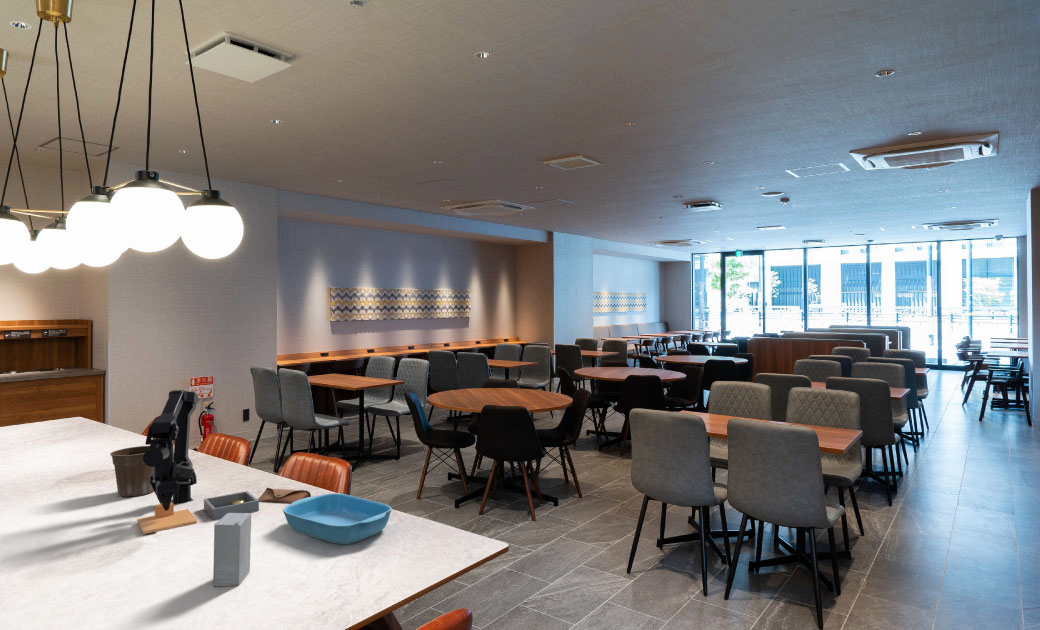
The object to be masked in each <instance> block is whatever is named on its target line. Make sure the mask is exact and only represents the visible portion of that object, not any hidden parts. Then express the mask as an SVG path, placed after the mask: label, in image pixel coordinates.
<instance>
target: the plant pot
mask: <svg viewBox="0 0 1040 630" xmlns="http://www.w3.org/2000/svg"><path fill="white" fill-rule="evenodd" d="M149 449H150V445H139V446H132V447H126V448H121V449H117V450H114V451H111V452H110V456H111V458H112V465H113V467H114V473H115V479H116V487H117V488H116V489H117V496H118V495H119V496H118V497H121V496H124V497H123V498H128V497H132V496H133V497H139V495H140V496H145V495H144V494H146V495H148V493H149V494H151V493H153V492H154V490H153V488H152V486H151V484H150V481H149V474H150V473H151V472H154V467H150V466H147V465H146V464H145V463H144V462H143V455H144V453H145V452H146V451H147V450H149ZM152 482H153V480H152ZM154 493H155V492H154Z"/></svg>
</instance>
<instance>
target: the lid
mask: <svg viewBox="0 0 1040 630" xmlns="http://www.w3.org/2000/svg"><path fill="white" fill-rule="evenodd" d="M174 506H175V504H173V503H172V502H171V503H170V507H169V510H167V511H165V510H164V508H163V506H162V504H160V503H159V504H155V505H154V506H153V507H154V515H150V516H145V517H139V518H137V519H136V522H137V524H138V526H139V528H140V531H141V532H142V534H143V535H145V534H148V533H149V534H152V533H153V534H154V533H157V532H159V531H165V530H171V529H175V528H180V527H184V526H190V525H193V524H195V525H196V524H198V520H197V518H196V517H195V516H194V515H193V514H192V512H191V511H190V510H189V508H187V509H182V510H176V511H174V510H175V508H174Z"/></svg>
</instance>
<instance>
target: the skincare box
mask: <svg viewBox="0 0 1040 630" xmlns="http://www.w3.org/2000/svg"><path fill="white" fill-rule="evenodd" d="M213 526H214V527H213V529H214V530H213V532H214V534H213V536H214V537H213V571H212V573H213V577H212V586H213V587H214V586H216V587H230V586H229V585H239V586H240V585H241V584H242V582H243V581H244V579H246V577H247V576H248V575H249V573H250V571H251V541H252V539H251V538H252V536H251V535H252V534H251V533H252V512H250V513H227V514H226V515H225V516H224V517H222V518H221V519H218V521H217V522H215V524H214V525H213Z"/></svg>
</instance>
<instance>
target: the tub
mask: <svg viewBox="0 0 1040 630" xmlns="http://www.w3.org/2000/svg"><path fill="white" fill-rule="evenodd" d="M238 499H243V500H245V503H240V504H235V505H232V501H234V500H238ZM258 499H259V498H257V497H256V496H254V495H253V494H252V493H251V492H249V491H247V490H246V491H240V492H236V493H230V494H224V495H219V496H213V497H208V498H204V499H203V510H204V511H205V512H206V514H208V516H209V517H210V518H211V519H212V520H214V521H216V520H220V519H221V518H222V517H224V516H225V515H226V514H227V513H254V512H259V511H260V506H259V505H260V502H259V500H258Z"/></svg>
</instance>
